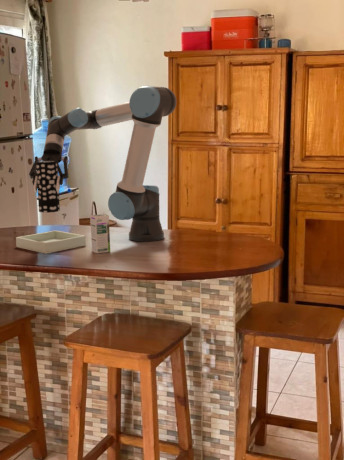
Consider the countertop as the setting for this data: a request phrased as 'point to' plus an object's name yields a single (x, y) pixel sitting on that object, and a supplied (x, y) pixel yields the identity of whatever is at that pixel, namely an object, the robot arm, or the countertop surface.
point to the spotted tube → (47, 186)
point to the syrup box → (100, 233)
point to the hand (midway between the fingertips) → (46, 190)
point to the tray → (50, 241)
